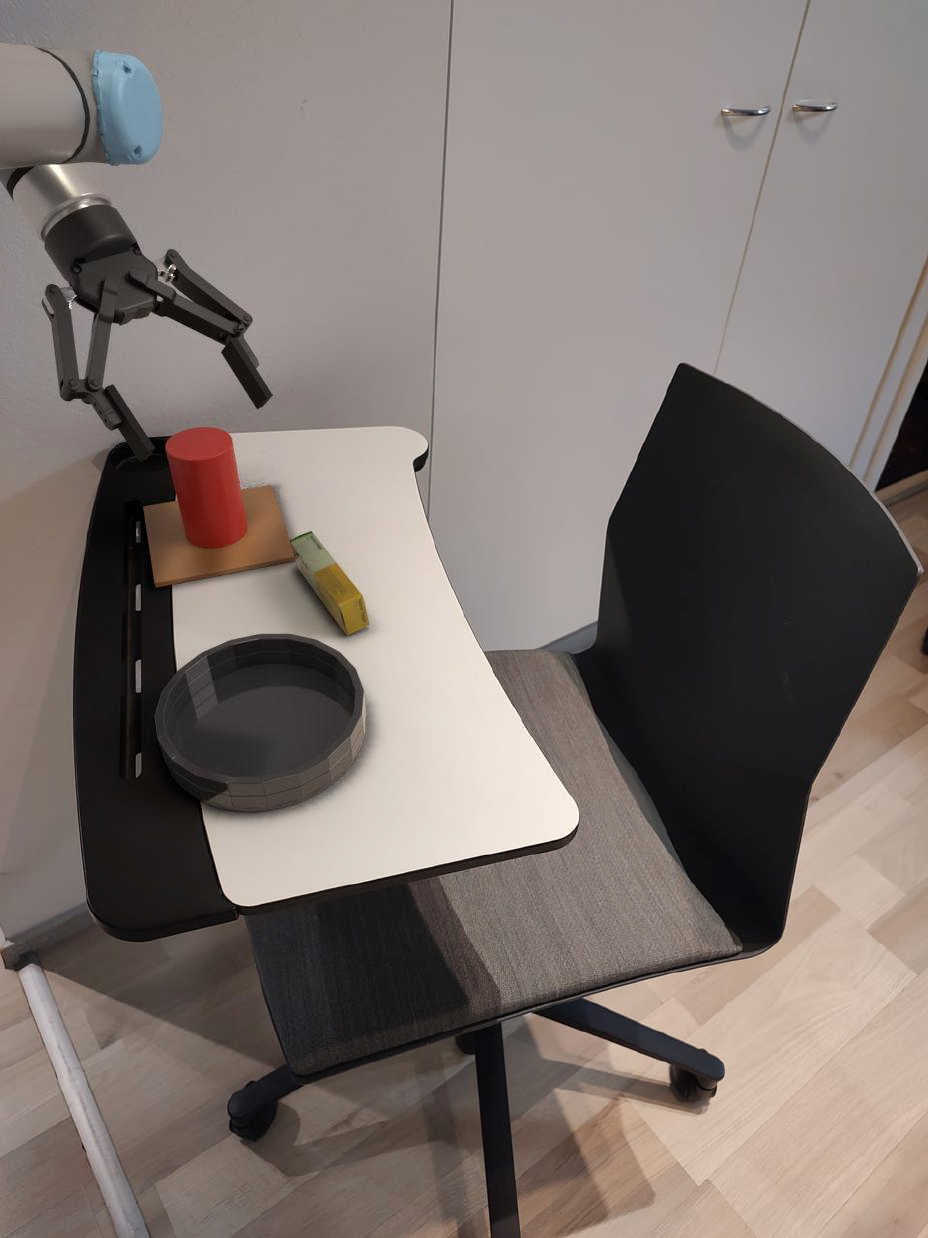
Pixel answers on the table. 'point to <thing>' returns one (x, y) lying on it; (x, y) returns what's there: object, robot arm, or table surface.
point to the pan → (261, 722)
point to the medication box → (330, 583)
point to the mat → (191, 562)
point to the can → (207, 486)
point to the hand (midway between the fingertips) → (209, 427)
